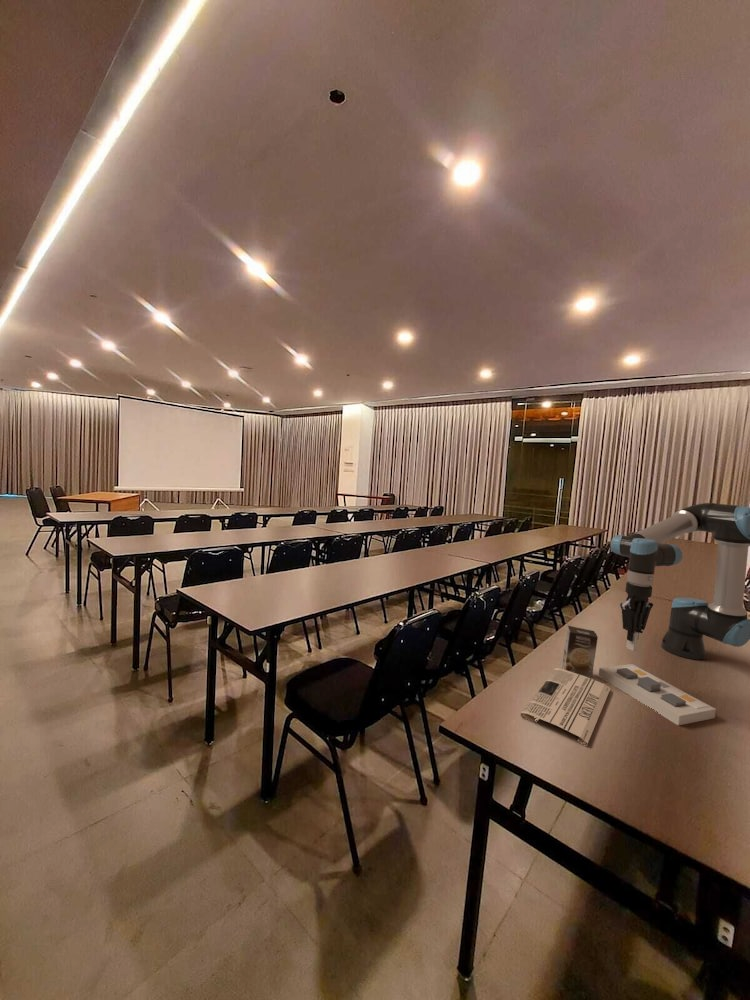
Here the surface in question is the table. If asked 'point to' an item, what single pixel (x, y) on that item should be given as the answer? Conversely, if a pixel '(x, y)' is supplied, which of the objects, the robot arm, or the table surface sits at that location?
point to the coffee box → (580, 651)
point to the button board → (659, 696)
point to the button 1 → (627, 673)
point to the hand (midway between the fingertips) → (631, 649)
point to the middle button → (649, 684)
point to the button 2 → (673, 700)
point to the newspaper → (569, 703)
